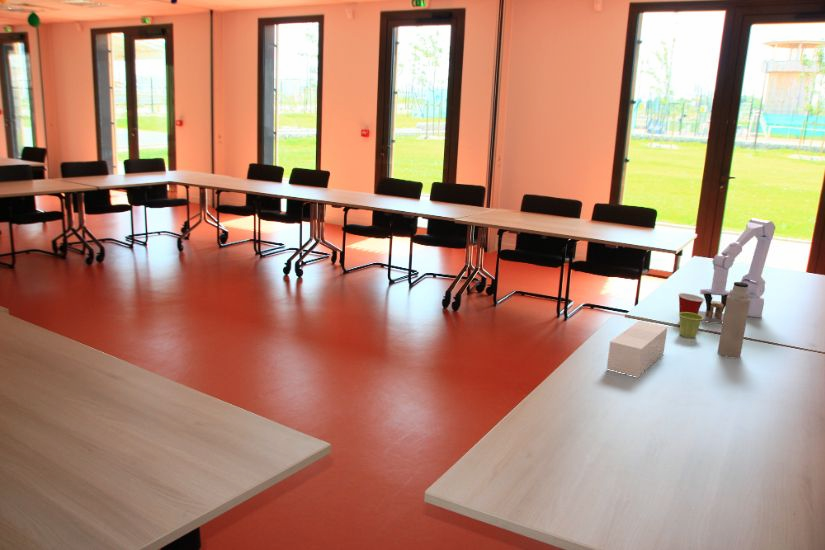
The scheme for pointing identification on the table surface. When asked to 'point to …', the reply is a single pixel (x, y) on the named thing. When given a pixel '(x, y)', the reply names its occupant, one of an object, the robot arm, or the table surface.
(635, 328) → the beige rectangular block
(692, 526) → the table surface
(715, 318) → the mat
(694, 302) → the plastic cup
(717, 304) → the stool
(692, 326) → the plant pot
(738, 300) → the thermos bottle
